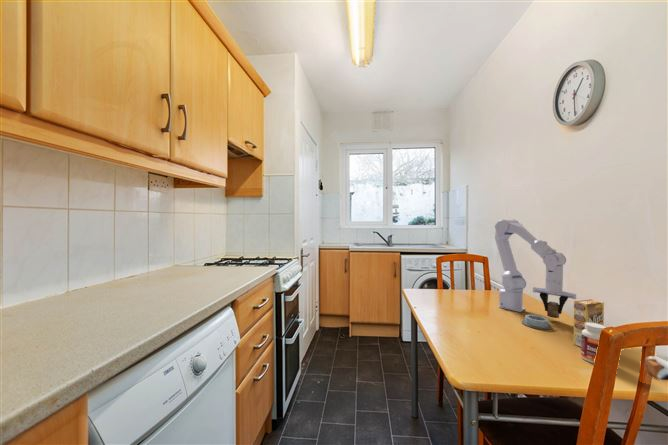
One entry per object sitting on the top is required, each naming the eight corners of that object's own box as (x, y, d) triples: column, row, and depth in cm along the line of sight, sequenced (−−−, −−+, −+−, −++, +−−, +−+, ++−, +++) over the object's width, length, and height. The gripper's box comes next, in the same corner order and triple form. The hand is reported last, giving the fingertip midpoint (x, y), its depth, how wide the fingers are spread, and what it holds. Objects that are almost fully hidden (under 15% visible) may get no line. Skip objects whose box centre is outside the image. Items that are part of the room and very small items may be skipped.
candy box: (586, 349, 90) (587, 304, 90) (572, 344, 94) (573, 300, 94) (604, 346, 93) (605, 302, 93) (589, 341, 97) (590, 298, 97)
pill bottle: (585, 363, 82) (586, 326, 82) (577, 353, 87) (578, 320, 87) (613, 367, 79) (613, 330, 79) (602, 358, 85) (603, 323, 85)
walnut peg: (546, 316, 117) (546, 302, 117) (548, 314, 120) (548, 300, 120) (558, 318, 114) (558, 304, 114) (559, 316, 117) (560, 302, 117)
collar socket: (519, 324, 112) (519, 317, 112) (524, 318, 119) (524, 312, 118) (549, 332, 104) (549, 324, 104) (553, 325, 111) (553, 318, 111)
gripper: (531, 279, 119) (530, 309, 119) (575, 285, 109) (574, 318, 109) (534, 276, 124) (534, 306, 124) (577, 282, 114) (576, 314, 114)
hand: (553, 311), depth 117 cm, fingers closed on walnut peg, 4 cm apart
